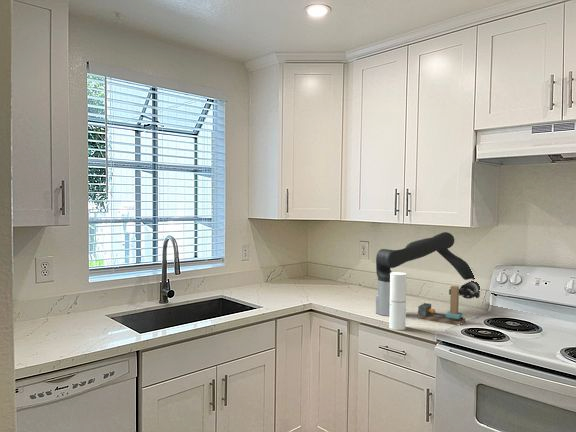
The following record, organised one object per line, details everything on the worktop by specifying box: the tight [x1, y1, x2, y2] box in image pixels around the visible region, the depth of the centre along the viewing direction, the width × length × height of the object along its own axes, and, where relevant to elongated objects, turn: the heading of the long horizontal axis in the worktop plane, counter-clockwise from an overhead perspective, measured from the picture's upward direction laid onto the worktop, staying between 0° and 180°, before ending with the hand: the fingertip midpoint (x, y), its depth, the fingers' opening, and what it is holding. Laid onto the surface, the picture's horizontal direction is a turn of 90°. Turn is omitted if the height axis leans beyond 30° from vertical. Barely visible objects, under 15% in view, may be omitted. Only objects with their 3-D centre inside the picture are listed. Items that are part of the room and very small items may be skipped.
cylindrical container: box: [388, 271, 407, 331], centre depth 195 cm, size 7×7×25 cm
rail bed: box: [417, 302, 466, 326], centre depth 209 cm, size 20×9×6 cm, turn 53°
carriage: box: [445, 285, 464, 319], centre depth 205 cm, size 6×7×14 cm
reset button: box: [427, 308, 436, 314], centre depth 212 cm, size 3×2×2 cm
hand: (460, 295), depth 214 cm, fingers open, 8 cm apart
